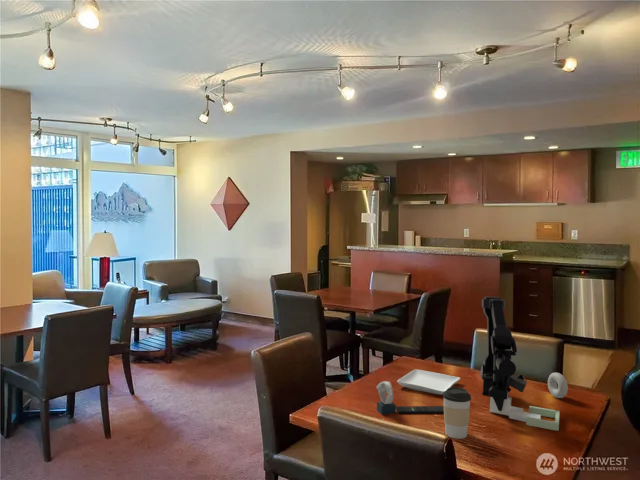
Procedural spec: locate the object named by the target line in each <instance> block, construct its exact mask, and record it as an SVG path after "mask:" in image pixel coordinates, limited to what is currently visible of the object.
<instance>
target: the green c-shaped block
mask: <svg viewBox="0 0 640 480" xmlns="http://www.w3.org/2000/svg"><path fill="white" fill-rule="evenodd" d="M528 413H533V414H539V415H541V417H547V418H553V419H554V420H546V419H543V418H541V419H537V418H532V417H527V422H525V423H526V426H530V427H536V428H542V429H546V430H551V431H557V432H558V431H559V429H560V410H558V409H557V410H556V409H552V408H546V407H545V408H543V407H540V406H533V405H529V406H528Z"/></svg>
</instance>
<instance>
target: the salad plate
mask: <svg viewBox="0 0 640 480" xmlns="http://www.w3.org/2000/svg"><path fill="white" fill-rule="evenodd" d="M460 380H461V377H459V376H453V375H449V374H443V373H439V372H434V371H428V370H424V369H423V370H422V369H416V368H415V369H413V370H411V371H410V372H408V373H407V374H405V375H404V376H402V377H400V378H399V379H398V380H397V381H396V382H397V383H398V385H400V386H402V387H404V388H407V389H411V390H413V391H418V392H424V393H429V394H433V395H440V396H441V395H442V396H443V392H444V391H446V390H447V389H448V388H453V387H454V385H456V384H457V383H458V382H459V381H460Z"/></svg>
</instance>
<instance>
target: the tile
mask: <svg viewBox="0 0 640 480" xmlns="http://www.w3.org/2000/svg"><path fill="white" fill-rule="evenodd" d="M527 417H532V418H537V419H542V416H541V415H539V414H533V413H529V412H527V411H523V413H522V417H521V422H524V423H526V422H527Z"/></svg>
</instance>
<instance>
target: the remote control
mask: <svg viewBox="0 0 640 480" xmlns="http://www.w3.org/2000/svg"><path fill="white" fill-rule="evenodd" d="M395 412H396V413H397V414H399V415H405V414H406V415H417V414H418V415H419V414H420V415H423V414H425V415H427V414H428V415H432V414H437V415H438V414H439V415H441V414H442V415H444V406H443V405H431V406H430V405H425V406H424V405H421V406H420V405H419V406H418V405H413V406H411V405H409V406H407V405H405V406H401V405H399V406H397V405H396V410H395Z"/></svg>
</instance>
